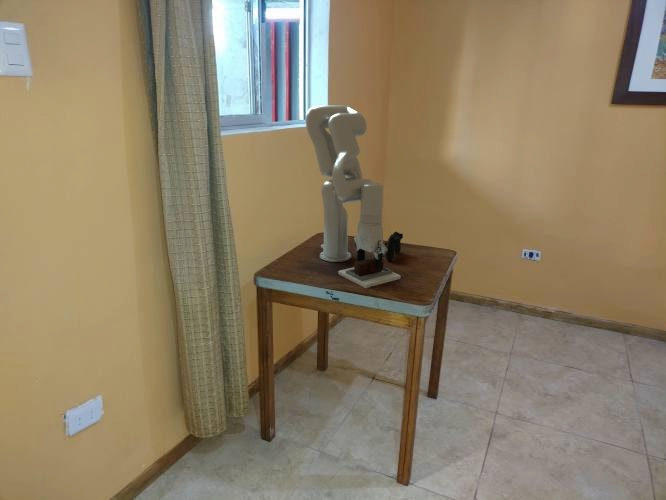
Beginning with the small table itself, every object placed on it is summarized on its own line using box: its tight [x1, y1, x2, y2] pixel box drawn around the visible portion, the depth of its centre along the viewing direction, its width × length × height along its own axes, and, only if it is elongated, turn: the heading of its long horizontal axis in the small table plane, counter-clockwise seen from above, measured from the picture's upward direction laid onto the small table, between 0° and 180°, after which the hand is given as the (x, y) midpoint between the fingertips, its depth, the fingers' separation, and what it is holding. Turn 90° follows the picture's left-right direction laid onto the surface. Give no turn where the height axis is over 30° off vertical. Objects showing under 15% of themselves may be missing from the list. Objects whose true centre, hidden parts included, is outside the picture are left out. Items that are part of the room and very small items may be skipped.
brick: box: [353, 257, 385, 276], centre depth 165 cm, size 11×4×5 cm, turn 124°
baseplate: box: [337, 266, 401, 289], centre depth 165 cm, size 16×16×2 cm
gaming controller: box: [384, 231, 404, 262], centre depth 186 cm, size 14×6×10 cm, turn 157°
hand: (369, 264), depth 165 cm, fingers open, 9 cm apart
